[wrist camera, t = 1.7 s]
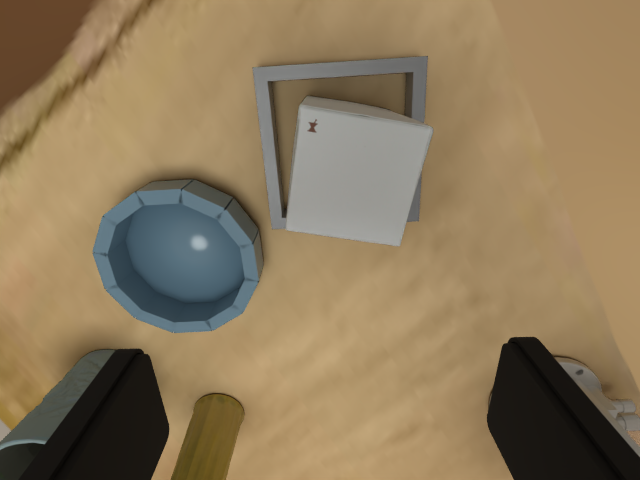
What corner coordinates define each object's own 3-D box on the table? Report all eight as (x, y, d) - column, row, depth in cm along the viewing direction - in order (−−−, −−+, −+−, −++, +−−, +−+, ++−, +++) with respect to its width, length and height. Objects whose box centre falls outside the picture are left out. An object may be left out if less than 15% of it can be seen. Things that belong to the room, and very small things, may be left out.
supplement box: (293, 179, 33) (279, 232, 21) (305, 93, 30) (297, 99, 18) (372, 192, 33) (400, 251, 22) (392, 109, 31) (437, 124, 19)
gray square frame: (419, 58, 29) (427, 56, 27) (412, 211, 34) (418, 221, 32) (257, 68, 29) (252, 67, 27) (275, 219, 34) (271, 229, 32)
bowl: (253, 173, 33) (244, 185, 29) (270, 304, 38) (265, 328, 34) (100, 182, 33) (72, 195, 29) (139, 311, 38) (120, 335, 35)
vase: (183, 406, 44) (126, 543, 31) (222, 385, 43) (179, 518, 30) (216, 435, 46) (176, 575, 33) (254, 416, 45) (228, 553, 32)
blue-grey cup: (69, 336, 40) (-26, 433, 29) (162, 351, 41) (105, 451, 30) (74, 403, 44) (-8, 510, 33) (159, 415, 45) (107, 524, 34)
